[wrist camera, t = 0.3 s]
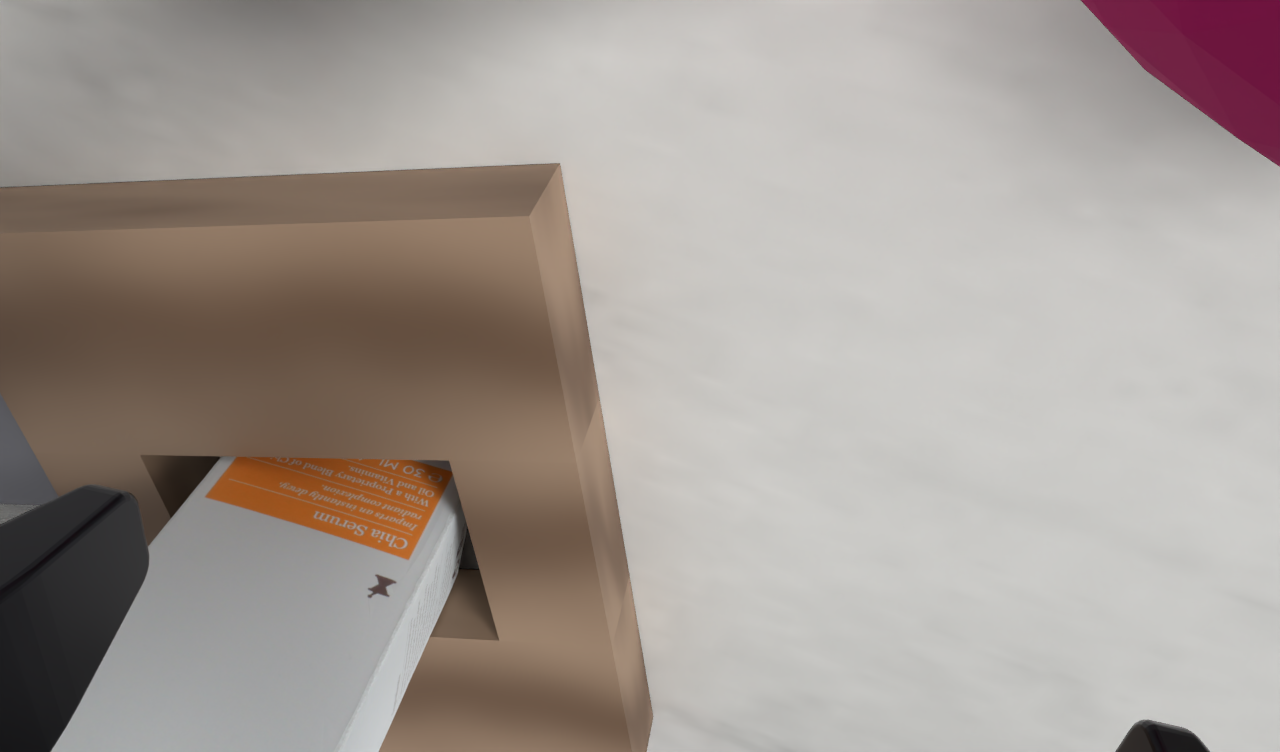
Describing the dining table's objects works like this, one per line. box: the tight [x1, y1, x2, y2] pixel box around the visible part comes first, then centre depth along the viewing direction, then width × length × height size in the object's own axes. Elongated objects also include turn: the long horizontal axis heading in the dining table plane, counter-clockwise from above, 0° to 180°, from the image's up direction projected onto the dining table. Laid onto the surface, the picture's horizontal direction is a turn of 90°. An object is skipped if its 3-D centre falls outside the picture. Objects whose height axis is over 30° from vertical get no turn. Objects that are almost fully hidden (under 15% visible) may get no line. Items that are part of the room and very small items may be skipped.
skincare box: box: [51, 456, 467, 752], centre depth 23 cm, size 6×4×12 cm
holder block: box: [0, 163, 653, 752], centre depth 27 cm, size 18×14×2 cm
